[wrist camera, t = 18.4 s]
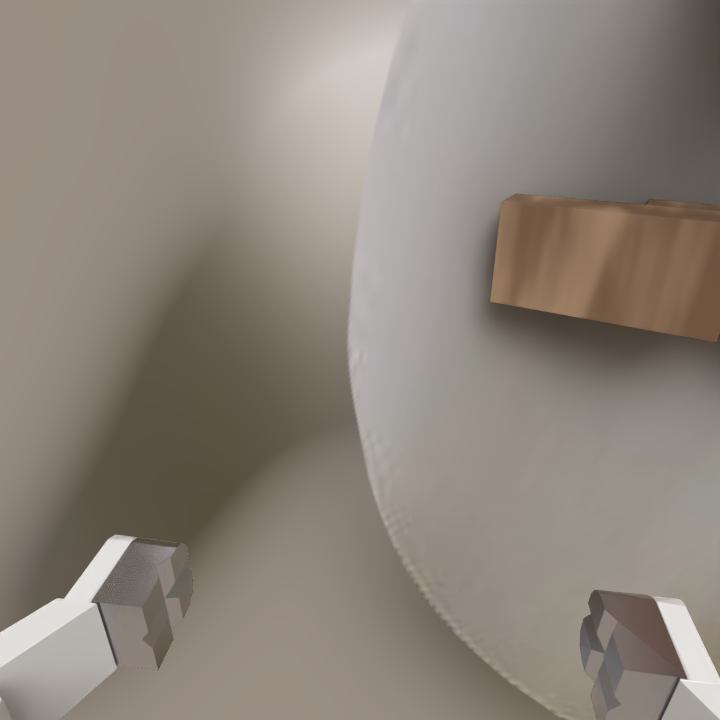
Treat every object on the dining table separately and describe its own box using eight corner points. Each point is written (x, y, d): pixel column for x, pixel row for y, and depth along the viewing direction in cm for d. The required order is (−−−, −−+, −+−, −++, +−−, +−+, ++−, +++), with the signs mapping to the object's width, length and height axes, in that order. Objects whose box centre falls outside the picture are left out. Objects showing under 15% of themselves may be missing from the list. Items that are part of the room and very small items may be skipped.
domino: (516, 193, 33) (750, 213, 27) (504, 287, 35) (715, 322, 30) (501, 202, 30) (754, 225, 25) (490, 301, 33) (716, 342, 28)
